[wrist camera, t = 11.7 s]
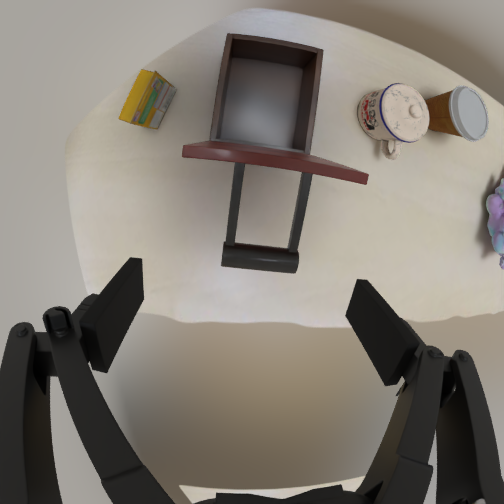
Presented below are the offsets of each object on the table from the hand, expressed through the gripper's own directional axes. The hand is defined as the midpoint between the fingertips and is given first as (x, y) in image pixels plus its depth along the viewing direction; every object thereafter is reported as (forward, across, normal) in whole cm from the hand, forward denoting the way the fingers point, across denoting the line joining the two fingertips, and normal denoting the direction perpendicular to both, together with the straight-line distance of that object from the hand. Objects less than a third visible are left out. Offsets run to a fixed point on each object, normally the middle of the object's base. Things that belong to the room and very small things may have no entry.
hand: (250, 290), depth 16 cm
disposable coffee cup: (+29, +33, +23) cm, 50 cm away
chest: (+29, +1, +16) cm, 33 cm away
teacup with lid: (+29, +21, +17) cm, 40 cm away
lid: (+12, +1, +8) cm, 14 cm away
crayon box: (+29, -15, +14) cm, 36 cm away
